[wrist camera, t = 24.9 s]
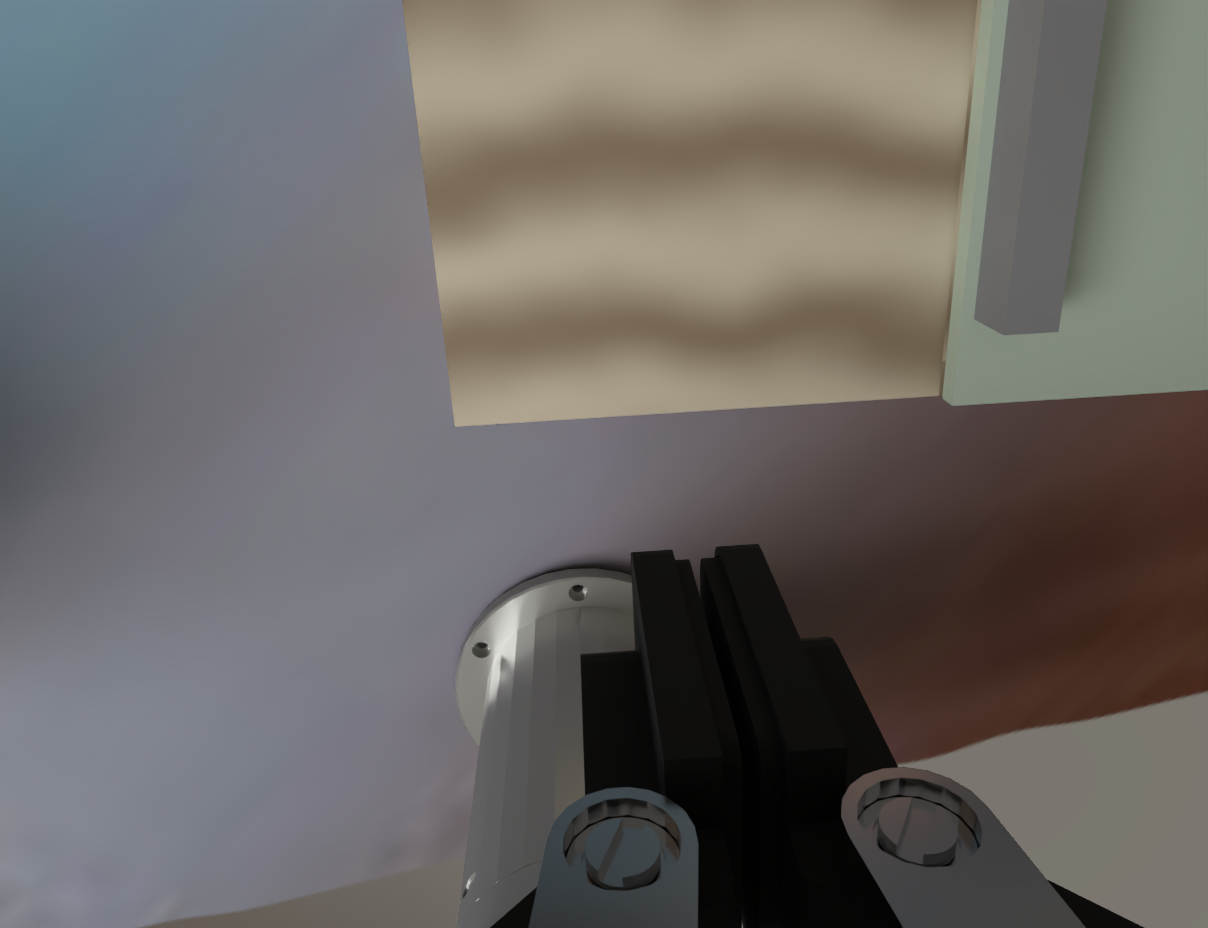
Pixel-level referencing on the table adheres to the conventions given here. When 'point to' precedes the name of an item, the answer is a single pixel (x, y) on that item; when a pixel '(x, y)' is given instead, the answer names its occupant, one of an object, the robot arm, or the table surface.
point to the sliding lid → (1083, 204)
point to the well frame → (691, 199)
